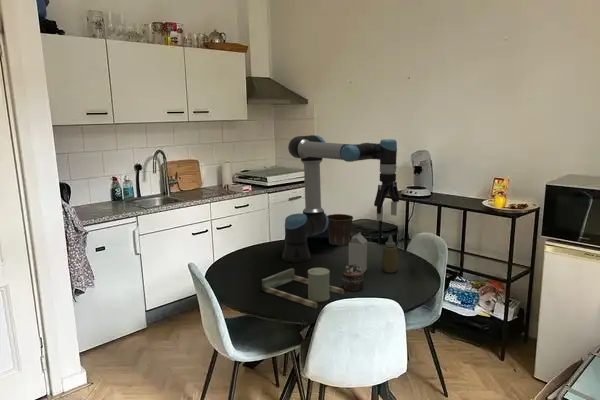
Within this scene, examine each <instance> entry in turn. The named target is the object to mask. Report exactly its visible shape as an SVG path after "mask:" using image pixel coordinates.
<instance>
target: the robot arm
mask: <svg viewBox="0 0 600 400" xmlns="http://www.w3.org/2000/svg"><path fill="white" fill-rule="evenodd" d="M397 142H398V141H397V140H396V139H392V138H390V139H384V138H383V139H381V140H380V142H379V143H377V142H376V143H372V142H361V143H357V144H354V143H353V144H351V143H335V142H326V141H325V139H323V137H321V136H320V135H313V134H311V135H298V136H295V137H293V138H292V139H291V140H290V141H289V143H288V147H287V149H288V153H289V154H290V156H292V157H293V158H295V159H300V162H301V163H302V164H303V176H304V178H303V179H304V200H305V201H304V202H305V203H304V205H305V207H304V209H303V210H302V213H300V212H299V213H292V214H289V215H288V216H286V217H285V219H284V237H285V238H284V240H285V243H284V249H283V252H282V254H281V256H282V258H281V259H282V260H283V261H285V262H287V263H304V262H308V261H309V260H311V253H310V249H309V246H308V237H311V236H315V235H320V234H321V233H324V232H325V231H326V230H328V223H329V221H328V217H327V216H328V215H327V214H326V212H325V210H324V208H322V198H321V197H322V194H321V190H322V189H321V163H322V162H323V159H330V160H339V161H340V160H341V161H344V162H346V163H347V162H348V163H349V162H350V163H351V162H352V163H353V162H358V161H366V160H378V161H379V172H380V173H379V182H381V184H378V185H377V191H376V195H375V199H374V204H373V206H374V207H376V221H380V222H382V221H383V220H384V219H383V218H384V217H383V215H384V213H383V212H384V207H383V204H384V202H385V200H386V196H387V195H389V196H390V199H391V200H392V201H390V215H391V216H395V217H397V209H398V203H399V202H400V194H399V189H398V183H397V182H398V181H397V173H396V172H397V168H398V166H397V155H398V147H397V146H398V143H397Z"/></svg>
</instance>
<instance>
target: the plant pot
mask: <svg viewBox="0 0 600 400" xmlns="http://www.w3.org/2000/svg"><path fill="white" fill-rule="evenodd" d="M327 217H328V221H329V223H328V227H327V231H328V232H327V233H328V243H329V244H330V245H333V246H335V245H336V246H340V247H342V246H346V245H348V246H349V242H350V241H351V240H350V239H351V232H352V224H353V219H354V216H353V215H350V214H345V213H344V214H343V213H334V214H328V215H327Z"/></svg>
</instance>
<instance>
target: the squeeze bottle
mask: <svg viewBox="0 0 600 400" xmlns="http://www.w3.org/2000/svg"><path fill="white" fill-rule="evenodd" d="M382 249H383V250H382V258H381V266H382V269H383V271H384V273H389V274H391V273H396V272H397V269H398V267H399V255H398V254H399V253H398V247H397V246H396V242H395V241H394V240H393V235H391V234H389V235H388V240H387V241H386V242H385V245H384V246H383V248H382Z"/></svg>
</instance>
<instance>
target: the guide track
mask: <svg viewBox="0 0 600 400" xmlns="http://www.w3.org/2000/svg"><path fill="white" fill-rule="evenodd" d="M295 271H296V270H295V268H292V267H291V268H289V269H286V270H283V271H280V272H277V273H275V274H273V275H270V276H268V277H266V278H262V279H261V290H262V291H263V292H265V293H268V294H271V295H274V296H277V297H280V298H283V299H285V300H289V301H292V302H295V303H298V304H301V305H303V306H307V307H310V308H313V309H317V308H318V302H316V301H312V300H310V299H308V298H304V297H300V296H298V295H294V294H292V293H288V292H285V291H282V290H279V289H276V288H277V287H279V286H282V285H285V284H287V283H290V282H292V281H295V282H298V283H301V284H306V285H308V278H305V277H303V276H299V275H296V274H295ZM329 292H331V293H336V294H339V295H344V294H345V289H344V288H341V287H337V286H334V285H331V284H329Z"/></svg>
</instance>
